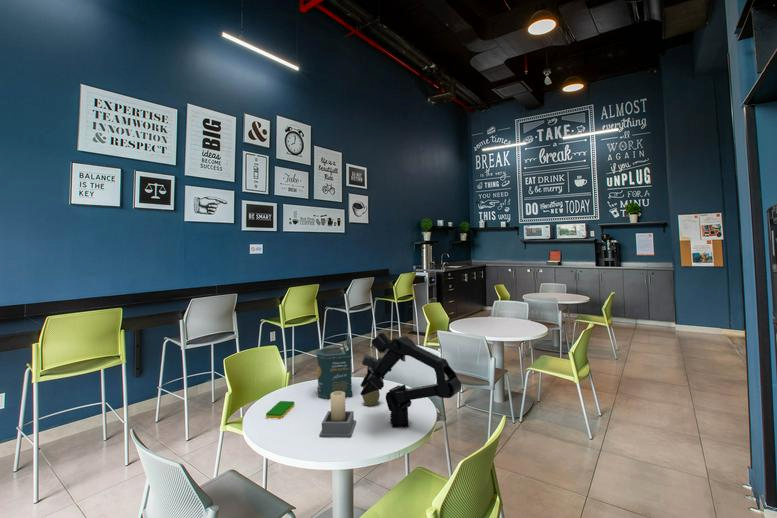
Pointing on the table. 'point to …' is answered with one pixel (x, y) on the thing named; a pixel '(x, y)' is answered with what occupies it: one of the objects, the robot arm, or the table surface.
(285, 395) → the table surface
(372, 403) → the squeeze bottle
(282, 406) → the dish sponge
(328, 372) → the dark green canister
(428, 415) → the table surface
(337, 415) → the paper roll
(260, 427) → the table surface
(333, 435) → the square tray
